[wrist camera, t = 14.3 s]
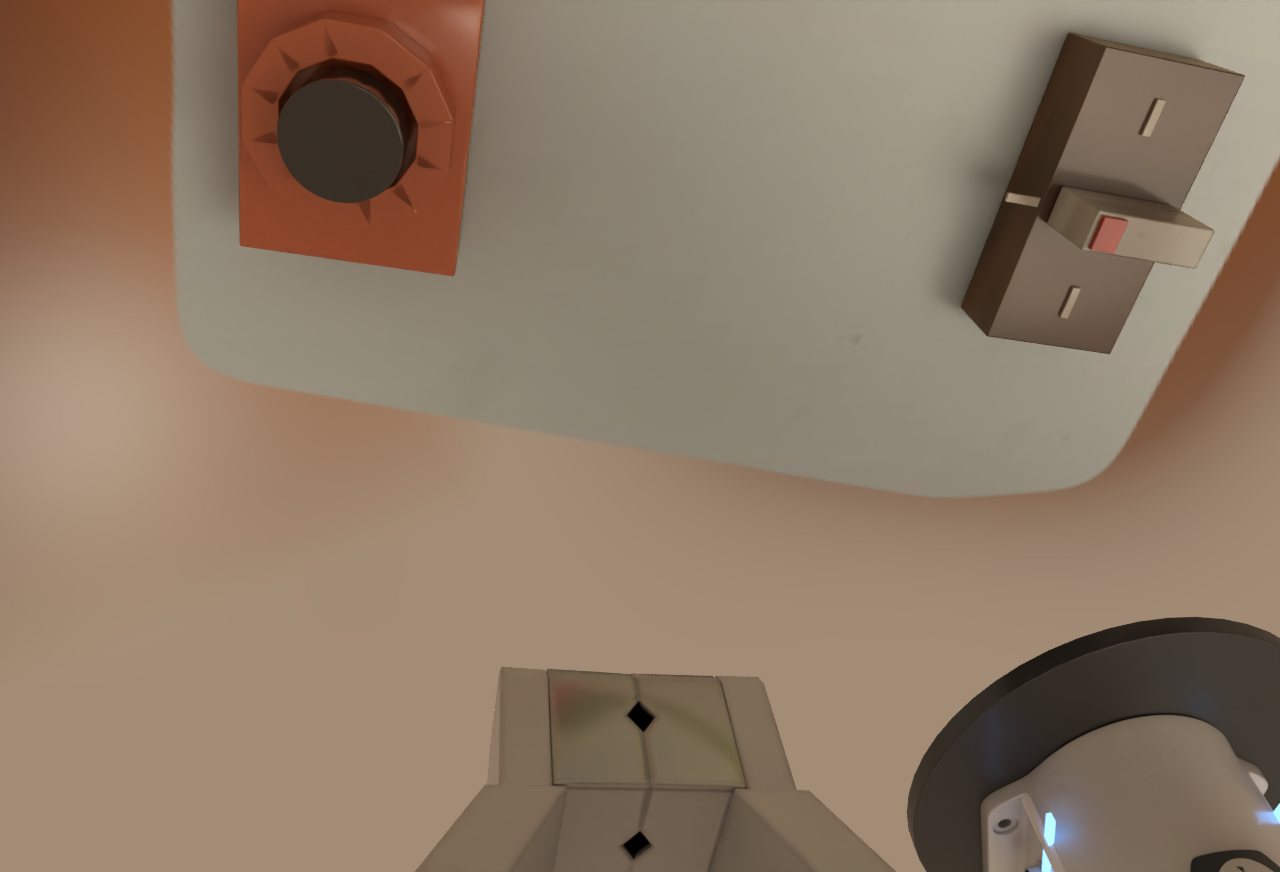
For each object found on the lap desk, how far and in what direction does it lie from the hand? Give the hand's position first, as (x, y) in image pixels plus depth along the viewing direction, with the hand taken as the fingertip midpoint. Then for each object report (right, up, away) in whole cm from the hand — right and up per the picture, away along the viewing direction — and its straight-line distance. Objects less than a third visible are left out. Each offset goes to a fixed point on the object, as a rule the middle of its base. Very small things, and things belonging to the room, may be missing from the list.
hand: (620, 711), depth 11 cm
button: (-10, +14, +22) cm, 28 cm away
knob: (+19, +12, +29) cm, 37 cm away
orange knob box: (-10, +16, +26) cm, 32 cm away
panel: (+19, +14, +31) cm, 39 cm away
